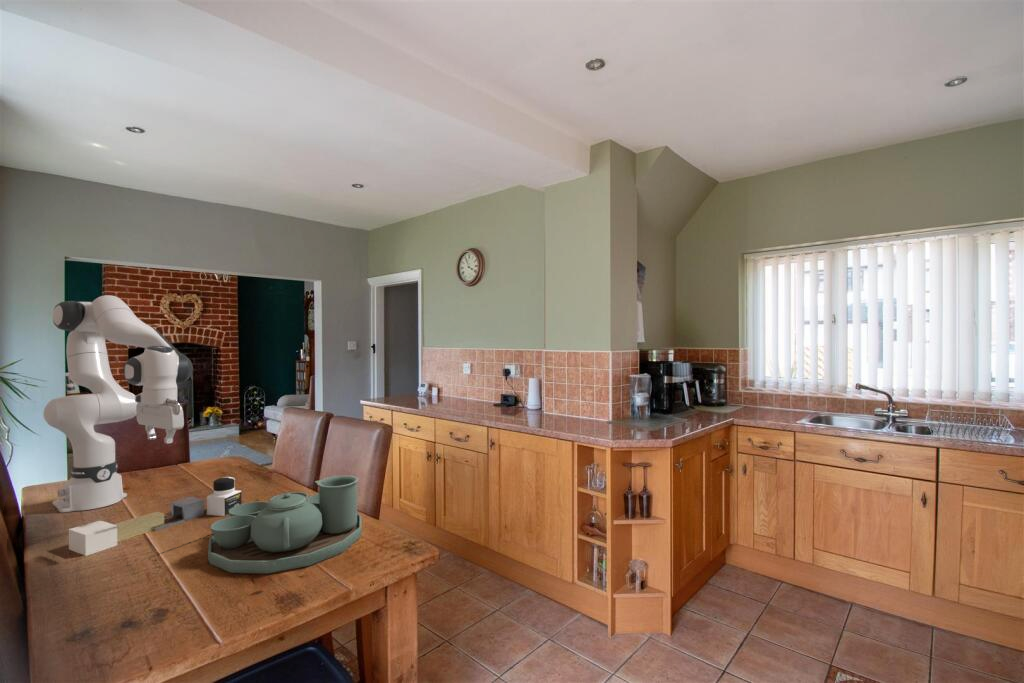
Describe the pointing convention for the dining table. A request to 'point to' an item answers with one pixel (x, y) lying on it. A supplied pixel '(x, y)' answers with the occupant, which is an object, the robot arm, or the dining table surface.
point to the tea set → (288, 529)
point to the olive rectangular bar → (139, 525)
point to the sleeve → (184, 511)
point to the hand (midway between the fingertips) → (160, 441)
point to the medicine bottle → (223, 497)
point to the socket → (92, 537)
